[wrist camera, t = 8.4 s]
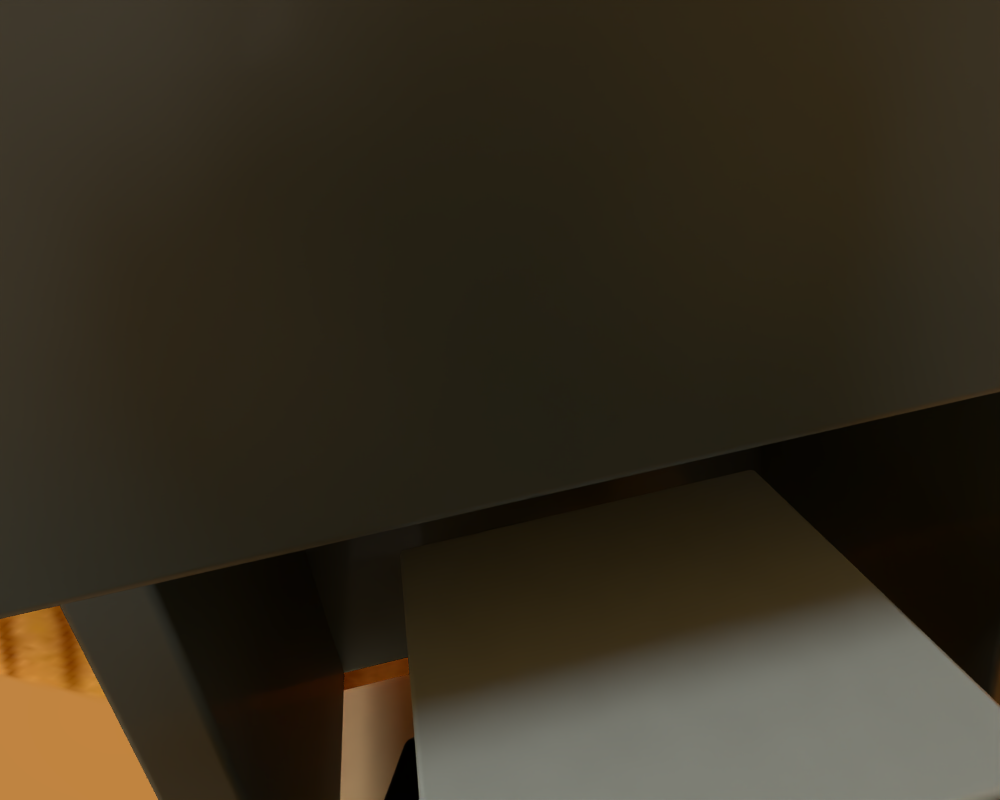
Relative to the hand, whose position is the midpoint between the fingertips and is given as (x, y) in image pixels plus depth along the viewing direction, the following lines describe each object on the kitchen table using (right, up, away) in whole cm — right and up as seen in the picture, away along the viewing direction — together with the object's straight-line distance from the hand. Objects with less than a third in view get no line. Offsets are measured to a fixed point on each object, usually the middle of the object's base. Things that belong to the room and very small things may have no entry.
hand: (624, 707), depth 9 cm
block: (0, 0, +1) cm, 1 cm away
